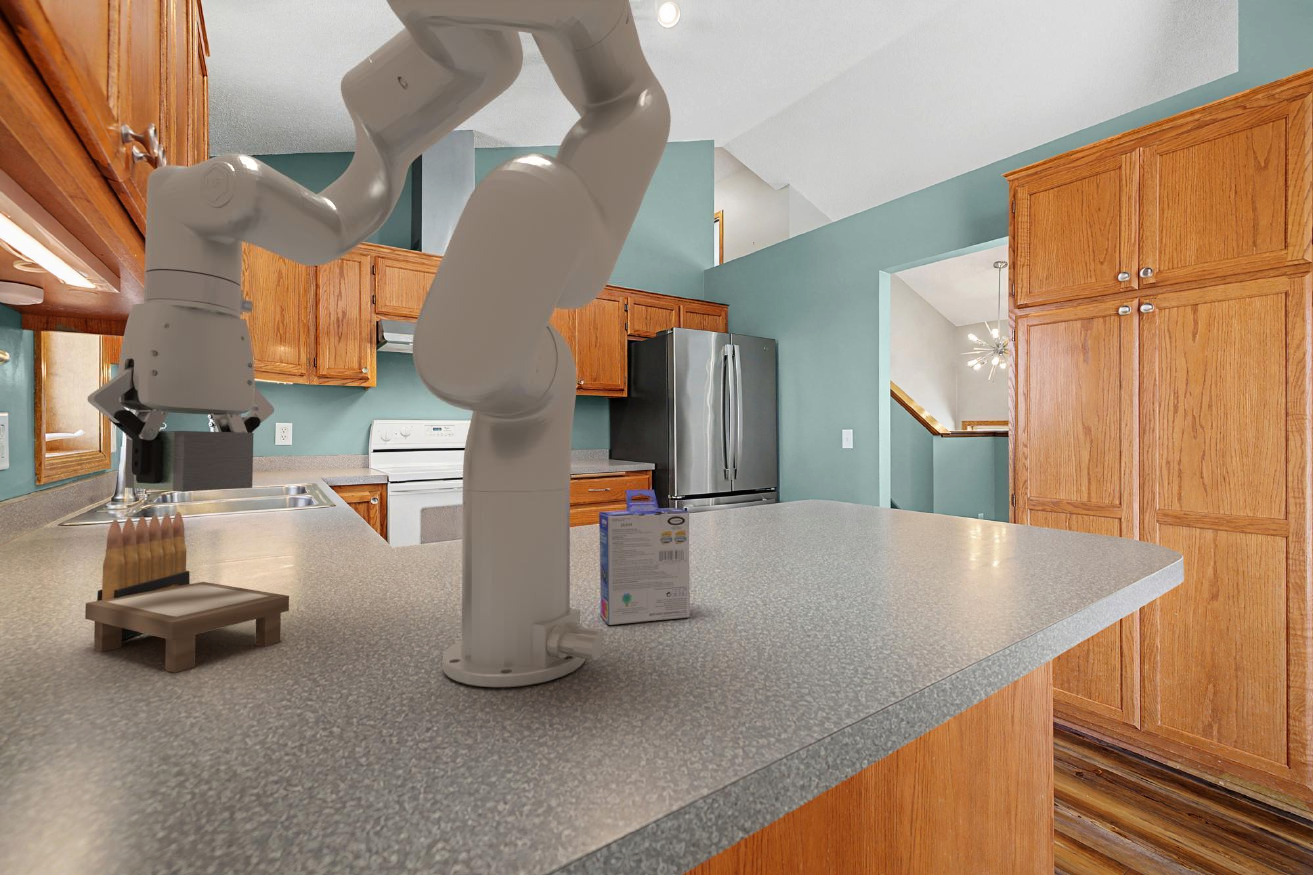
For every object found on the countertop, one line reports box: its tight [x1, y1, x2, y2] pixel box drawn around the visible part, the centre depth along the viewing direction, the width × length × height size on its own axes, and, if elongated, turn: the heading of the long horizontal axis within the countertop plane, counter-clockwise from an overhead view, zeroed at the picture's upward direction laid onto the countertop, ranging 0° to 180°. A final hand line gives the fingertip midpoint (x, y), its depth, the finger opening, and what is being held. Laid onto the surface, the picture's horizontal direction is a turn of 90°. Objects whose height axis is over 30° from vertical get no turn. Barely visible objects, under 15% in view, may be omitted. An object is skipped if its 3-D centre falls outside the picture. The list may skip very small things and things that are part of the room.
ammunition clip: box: [96, 511, 191, 641], centre depth 63 cm, size 11×2×12 cm, turn 5°
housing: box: [124, 430, 254, 493], centre depth 58 cm, size 6×10×6 cm, turn 65°
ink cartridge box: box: [598, 489, 691, 626], centre depth 68 cm, size 10×6×14 cm, turn 108°
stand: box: [84, 581, 290, 674], centre depth 57 cm, size 15×10×5 cm, turn 65°
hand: (189, 479), depth 58 cm, fingers closed on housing, 6 cm apart
